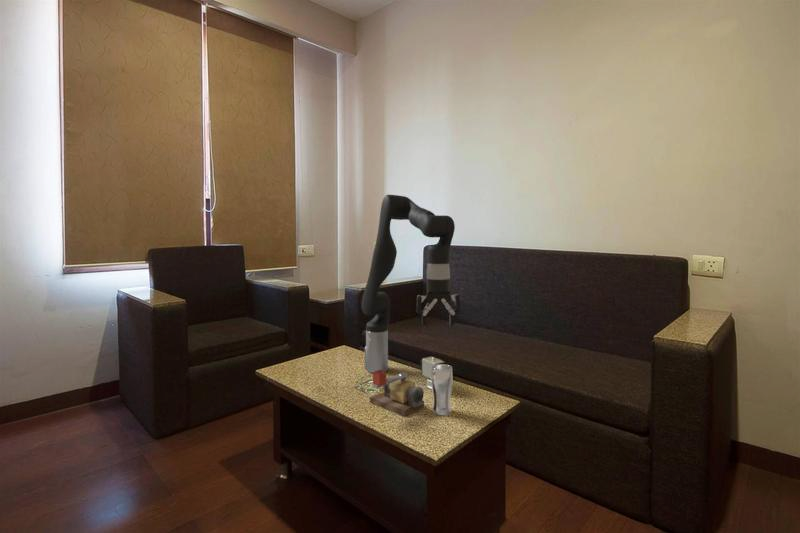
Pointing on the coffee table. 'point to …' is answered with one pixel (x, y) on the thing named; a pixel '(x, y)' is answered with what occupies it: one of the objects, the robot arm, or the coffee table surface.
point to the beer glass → (441, 388)
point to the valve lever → (381, 380)
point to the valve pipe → (400, 397)
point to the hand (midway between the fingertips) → (438, 326)
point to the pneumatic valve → (429, 367)
